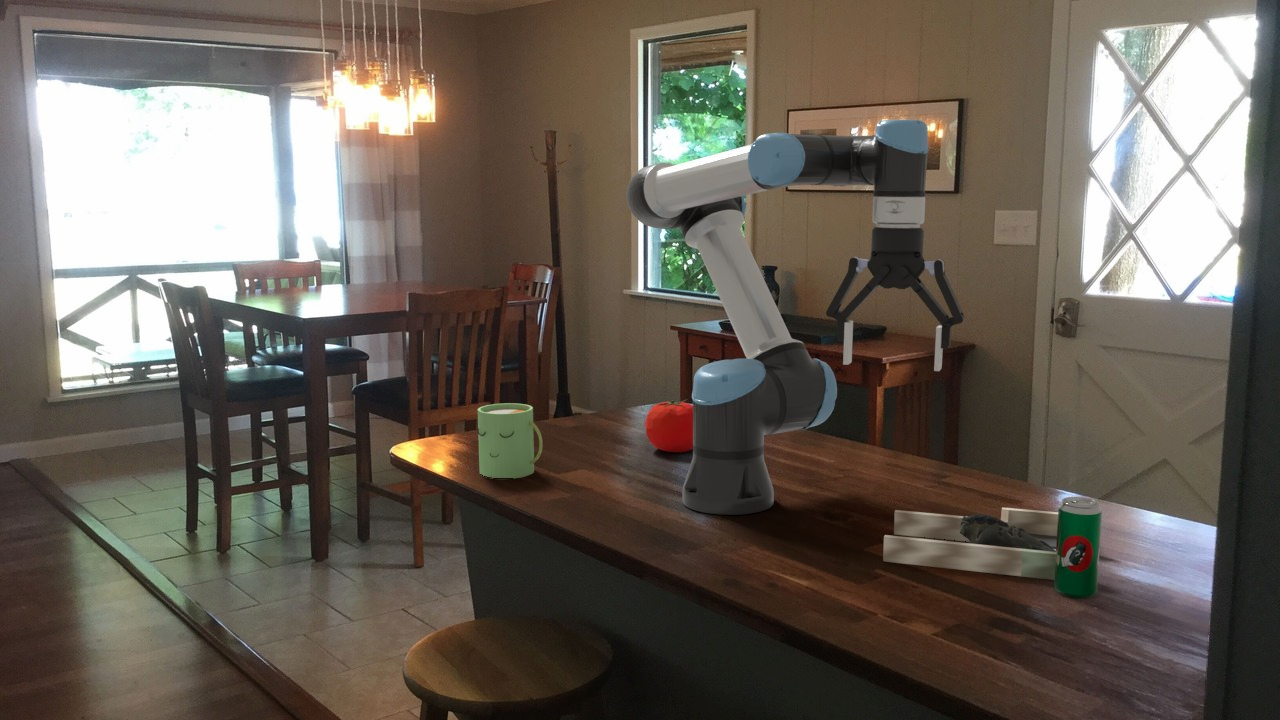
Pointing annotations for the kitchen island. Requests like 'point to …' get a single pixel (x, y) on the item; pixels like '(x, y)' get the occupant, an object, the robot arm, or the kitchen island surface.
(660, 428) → the tomato
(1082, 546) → the soda can
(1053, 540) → the channel
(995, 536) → the stone
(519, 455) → the mug
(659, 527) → the kitchen island surface
